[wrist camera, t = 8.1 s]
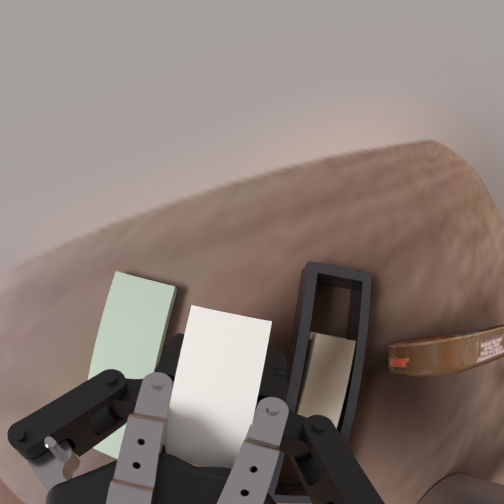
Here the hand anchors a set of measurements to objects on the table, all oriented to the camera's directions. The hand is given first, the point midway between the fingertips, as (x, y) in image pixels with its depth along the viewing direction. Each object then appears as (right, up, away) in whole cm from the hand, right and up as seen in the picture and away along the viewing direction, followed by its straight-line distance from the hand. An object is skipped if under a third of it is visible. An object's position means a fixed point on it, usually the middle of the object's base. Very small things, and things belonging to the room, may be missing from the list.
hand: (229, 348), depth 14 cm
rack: (+6, -6, +6) cm, 11 cm away
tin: (+19, -5, +8) cm, 21 cm away
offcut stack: (+6, -6, +7) cm, 11 cm away
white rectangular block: (-1, -3, +3) cm, 4 cm away
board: (-9, -5, +6) cm, 12 cm away
